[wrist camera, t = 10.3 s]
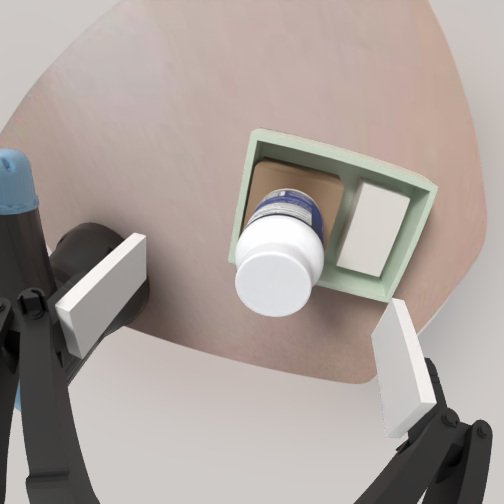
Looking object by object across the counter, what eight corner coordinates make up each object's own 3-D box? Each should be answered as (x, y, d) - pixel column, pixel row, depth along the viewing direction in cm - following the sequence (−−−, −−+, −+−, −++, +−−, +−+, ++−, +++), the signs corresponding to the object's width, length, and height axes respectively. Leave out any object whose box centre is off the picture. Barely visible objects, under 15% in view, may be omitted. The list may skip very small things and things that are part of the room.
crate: (238, 241, 32) (227, 261, 28) (260, 127, 26) (251, 131, 22) (381, 278, 31) (388, 303, 27) (421, 174, 25) (438, 187, 21)
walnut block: (251, 224, 30) (239, 246, 26) (264, 156, 27) (255, 166, 22) (319, 242, 30) (319, 267, 25) (339, 175, 26) (344, 189, 22)
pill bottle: (312, 257, 25) (307, 337, 16) (249, 241, 25) (215, 313, 17) (330, 196, 22) (339, 256, 14) (262, 179, 23) (228, 227, 14)
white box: (334, 251, 30) (336, 265, 27) (359, 175, 26) (364, 183, 23) (374, 261, 29) (378, 277, 27) (401, 189, 25) (410, 199, 23)
